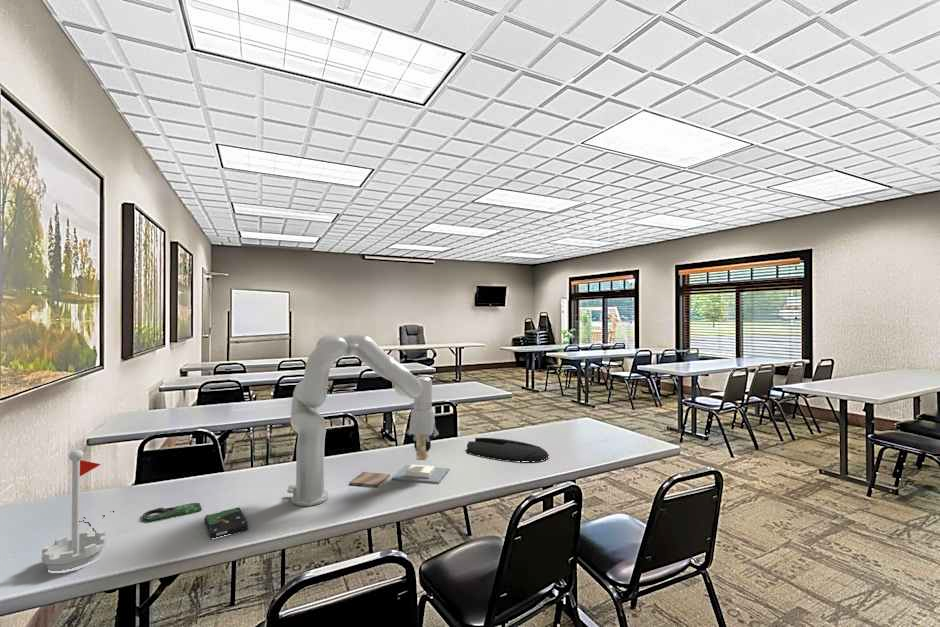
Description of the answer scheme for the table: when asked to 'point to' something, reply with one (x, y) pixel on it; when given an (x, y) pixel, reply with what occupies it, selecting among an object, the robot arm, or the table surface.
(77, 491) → the flag stand
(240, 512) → the disk drive
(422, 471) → the tile
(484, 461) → the table surface
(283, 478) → the table surface
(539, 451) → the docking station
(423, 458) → the block
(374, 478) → the plate
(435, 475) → the mat
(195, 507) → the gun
